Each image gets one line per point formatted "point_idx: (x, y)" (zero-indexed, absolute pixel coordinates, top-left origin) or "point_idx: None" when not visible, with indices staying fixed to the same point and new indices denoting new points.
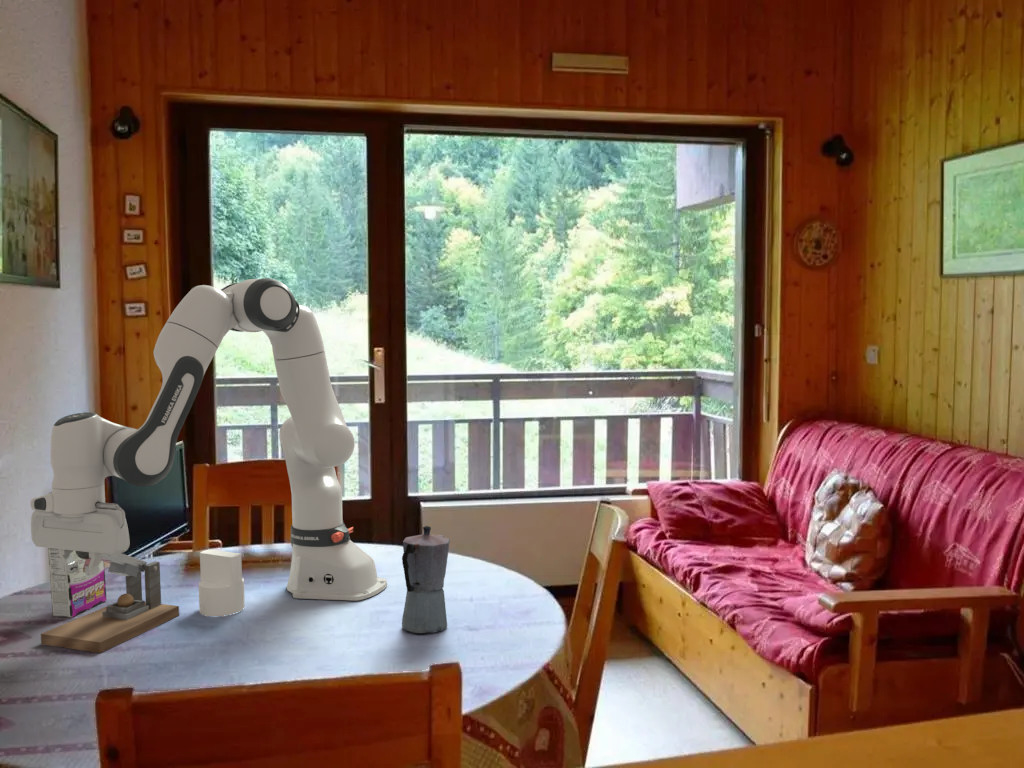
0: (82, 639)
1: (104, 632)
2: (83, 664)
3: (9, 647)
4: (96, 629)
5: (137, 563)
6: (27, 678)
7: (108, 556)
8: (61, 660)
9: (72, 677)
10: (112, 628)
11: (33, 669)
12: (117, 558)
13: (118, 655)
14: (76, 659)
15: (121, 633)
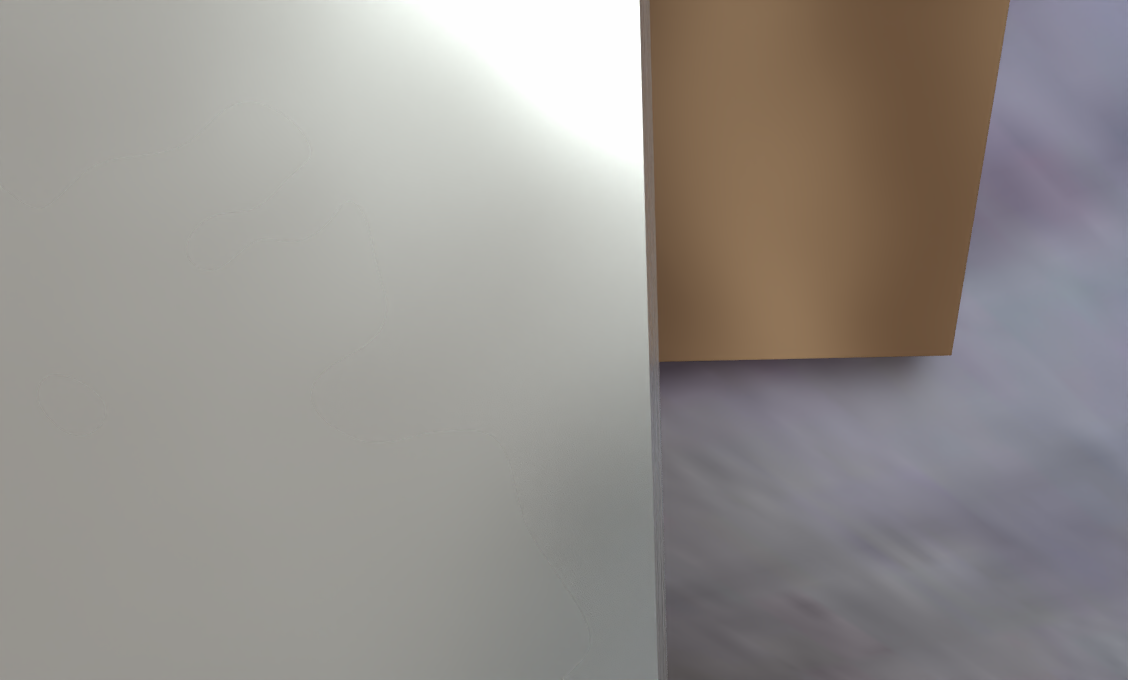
0: (737, 354)
1: (805, 169)
2: (950, 470)
3: None
4: (655, 135)
5: None
6: (759, 668)
7: (661, 569)
8: (733, 466)
9: (1026, 607)
10: (802, 51)
11: (679, 592)
12: (648, 110)
13: (1122, 285)
14: (828, 428)
15: (987, 102)
